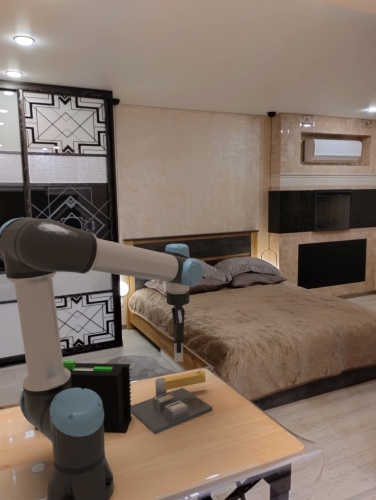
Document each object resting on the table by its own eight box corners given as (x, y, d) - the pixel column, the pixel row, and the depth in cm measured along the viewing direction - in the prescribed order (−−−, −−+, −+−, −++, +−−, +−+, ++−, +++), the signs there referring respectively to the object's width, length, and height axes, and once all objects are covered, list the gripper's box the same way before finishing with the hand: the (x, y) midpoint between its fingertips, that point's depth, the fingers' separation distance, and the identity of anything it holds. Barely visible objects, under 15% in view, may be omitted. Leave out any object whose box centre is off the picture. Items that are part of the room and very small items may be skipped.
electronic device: (133, 413, 130) (132, 354, 127) (126, 433, 119) (123, 369, 116) (49, 411, 132) (45, 352, 129) (34, 430, 121) (29, 366, 118)
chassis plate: (154, 433, 118) (154, 422, 118) (126, 408, 132) (126, 398, 132) (212, 410, 131) (212, 399, 130) (181, 389, 145) (181, 379, 145)
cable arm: (157, 399, 135) (157, 383, 134) (154, 394, 138) (154, 379, 138) (207, 389, 142) (207, 374, 141) (202, 385, 145) (202, 370, 144)
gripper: (192, 295, 125) (192, 368, 128) (186, 286, 138) (187, 352, 141) (168, 296, 124) (169, 369, 127) (164, 287, 137) (165, 354, 140)
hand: (178, 360), depth 134 cm, fingers closed
